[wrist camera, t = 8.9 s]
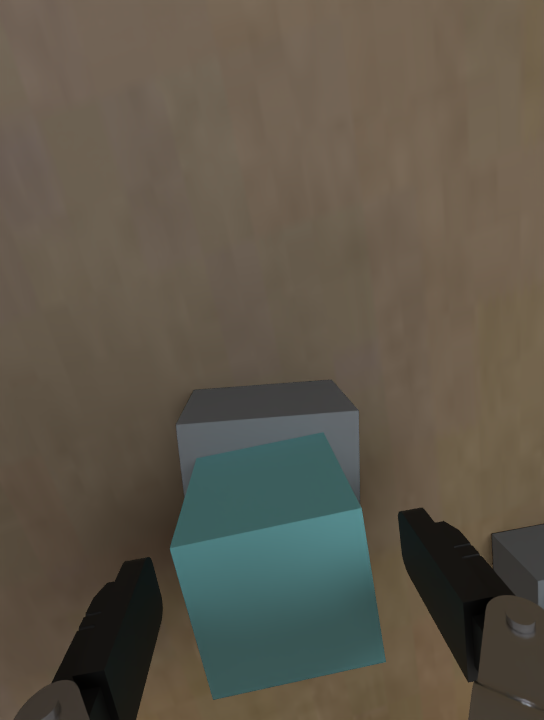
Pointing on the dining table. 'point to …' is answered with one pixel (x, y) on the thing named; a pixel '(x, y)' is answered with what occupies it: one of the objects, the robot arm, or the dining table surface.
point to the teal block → (276, 567)
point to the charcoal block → (268, 422)
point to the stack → (521, 561)
